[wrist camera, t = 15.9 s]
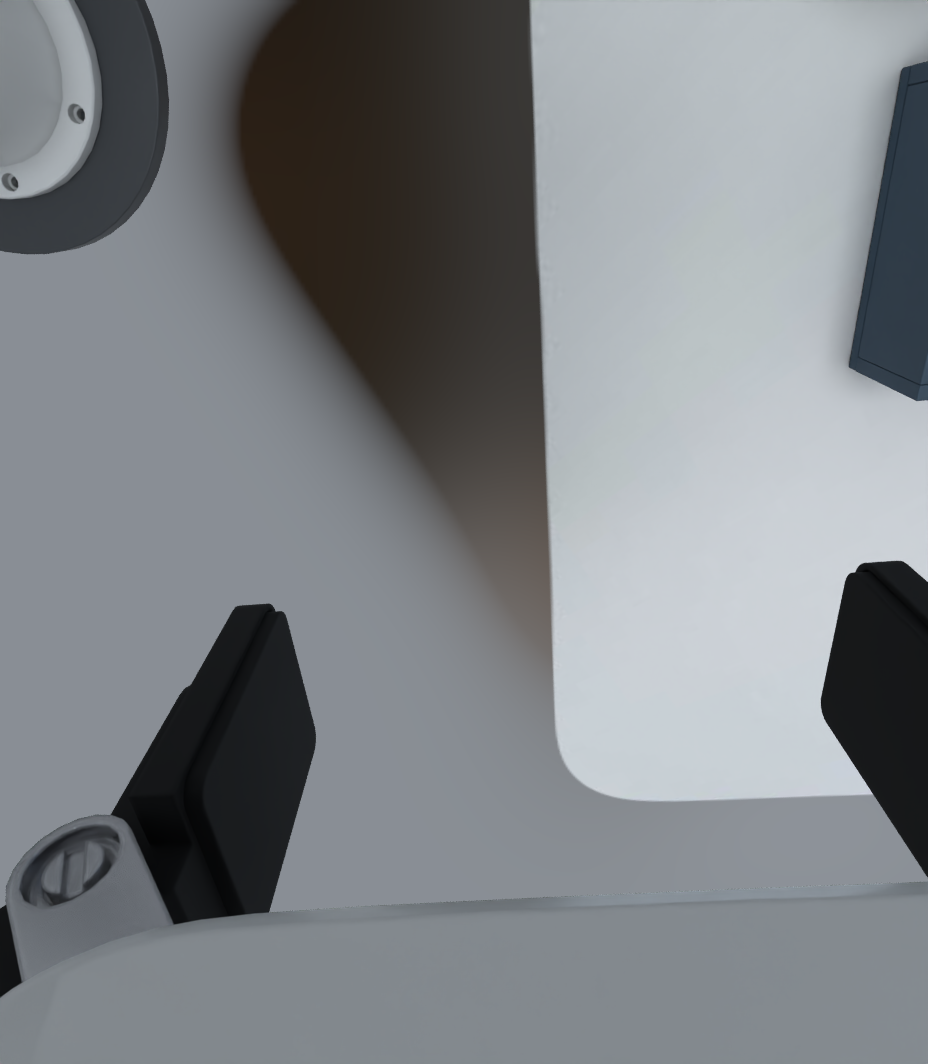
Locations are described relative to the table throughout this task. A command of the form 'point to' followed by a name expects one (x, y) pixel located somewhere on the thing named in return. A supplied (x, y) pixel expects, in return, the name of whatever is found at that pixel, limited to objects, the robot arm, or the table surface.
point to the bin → (899, 254)
